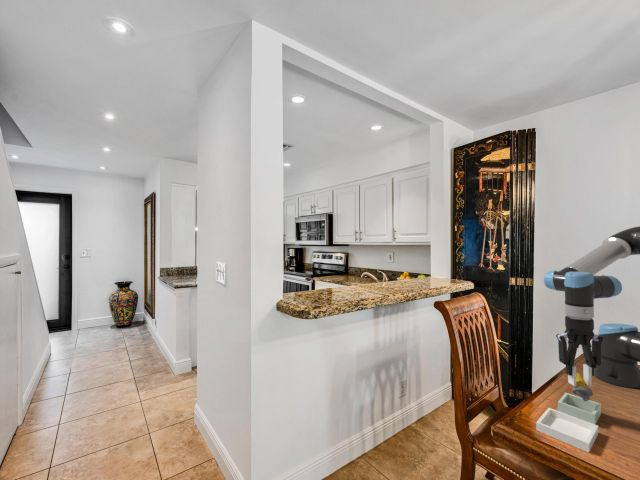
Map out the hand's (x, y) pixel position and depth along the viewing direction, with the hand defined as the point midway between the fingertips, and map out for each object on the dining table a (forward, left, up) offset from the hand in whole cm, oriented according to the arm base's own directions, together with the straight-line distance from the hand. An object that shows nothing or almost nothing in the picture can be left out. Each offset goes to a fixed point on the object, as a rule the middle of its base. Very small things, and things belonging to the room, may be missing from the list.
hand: (579, 384), depth 103 cm
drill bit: (0, 0, -4) cm, 4 cm away
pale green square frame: (0, 0, -10) cm, 10 cm away
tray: (+11, +11, -10) cm, 19 cm away
